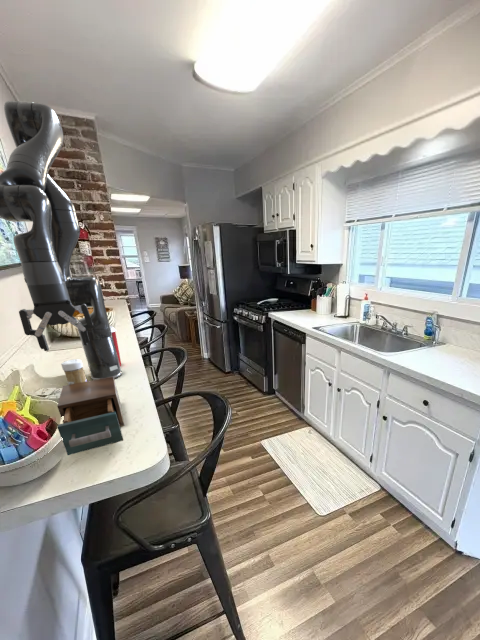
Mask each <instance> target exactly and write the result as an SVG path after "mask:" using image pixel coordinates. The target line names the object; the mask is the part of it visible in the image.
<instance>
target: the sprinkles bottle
mask: <svg viewBox="0 0 480 640" xmlns="http://www.w3.org/2000/svg"><path fill="white" fill-rule="evenodd" d="M61 368H62V370H63V372H64V375H65V378H66V382H67V385H70V384H76V383H81V382H87V381H88V379H87V377H86V374H85V370H84V364H83V361H82V359H78V358H76V359H69V360H65V361H63V362H61Z"/></svg>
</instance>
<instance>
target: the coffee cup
mask: <svg viewBox="0 0 480 640" xmlns="http://www.w3.org/2000/svg"><path fill="white" fill-rule="evenodd" d="M110 329H111V333H112V337H113V341H114V345H115V348H116V352H117V356H118V360H119V364H120V367H122V361H121V360H122V359H121V355H120V349H119V344H118V339H117V329H116V328H115V327H114V326H113V325H110Z"/></svg>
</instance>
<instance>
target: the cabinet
mask: <svg viewBox="0 0 480 640" xmlns="http://www.w3.org/2000/svg"><path fill="white" fill-rule="evenodd" d="M109 398H112V402H113V406H114V409H115V412H116V415H117V418H118V422H119V426H120V427H123V426H125V421H124V413H123V408H122V403H121V399H120V395H119V391H118V389H117V384H116V380H115V378H114V377H109V378H103V379H98V380H92V379H91V380H87V382H81V383H76V384H70V385H68V384H65V385H62V388H61V392H60V395H59V398H58V402H57V406H56V407H57V409H58V412H59V415H60V418H61V417H62V416H65V411H66V407H71V406H76V405H81V404H85V403H90V402H95V401H100V400H104V399H109Z"/></svg>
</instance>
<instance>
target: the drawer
mask: <svg viewBox="0 0 480 640" xmlns="http://www.w3.org/2000/svg"><path fill="white" fill-rule="evenodd" d="M121 429H122V428H121V426H119V422H118V418H117V415H116V412H115V409H114V406H113V402H112V398H109V399H104V400H100V401H95V402H90V403H85V404H81V405H76V406H71V407H66V411H65V416H64V420H63V421H62V423H59V424H57V430H58V432H59V435H60V438H61V437H62V438H63V441H62V443H63V447H64V449H65V452H66V454H67V456H71V455H75V454H79V453H82V452H86V451H89V450H94V449H97V448H100V447H105V446H108V445H112V444H116V443H119V442H123V441H124V436H123V434H122V430H121ZM62 438H61V439H62Z"/></svg>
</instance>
